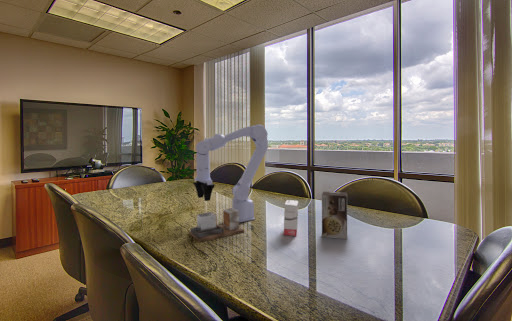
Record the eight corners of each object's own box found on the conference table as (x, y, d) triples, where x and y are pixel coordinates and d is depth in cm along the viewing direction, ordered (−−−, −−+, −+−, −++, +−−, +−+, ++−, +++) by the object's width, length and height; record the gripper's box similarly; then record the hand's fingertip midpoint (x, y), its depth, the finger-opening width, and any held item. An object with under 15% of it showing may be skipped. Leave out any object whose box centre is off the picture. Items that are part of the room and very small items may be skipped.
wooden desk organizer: (231, 224, 115) (230, 206, 115) (244, 232, 106) (243, 212, 106) (188, 233, 105) (188, 213, 105) (199, 242, 96) (198, 220, 96)
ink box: (297, 236, 101) (297, 205, 100) (283, 235, 102) (283, 204, 101) (298, 229, 109) (298, 200, 109) (285, 228, 110) (285, 199, 110)
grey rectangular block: (197, 232, 104) (197, 214, 103) (212, 229, 107) (212, 211, 106) (201, 235, 100) (200, 216, 100) (217, 232, 104) (216, 214, 103)
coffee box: (347, 233, 103) (347, 192, 102) (347, 239, 97) (347, 195, 96) (322, 231, 106) (323, 190, 105) (321, 237, 100) (321, 194, 99)
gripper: (188, 167, 122) (189, 197, 123) (200, 170, 110) (201, 203, 111) (203, 166, 126) (204, 195, 127) (216, 169, 114) (217, 201, 115)
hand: (203, 199), depth 119 cm, fingers open, 7 cm apart
